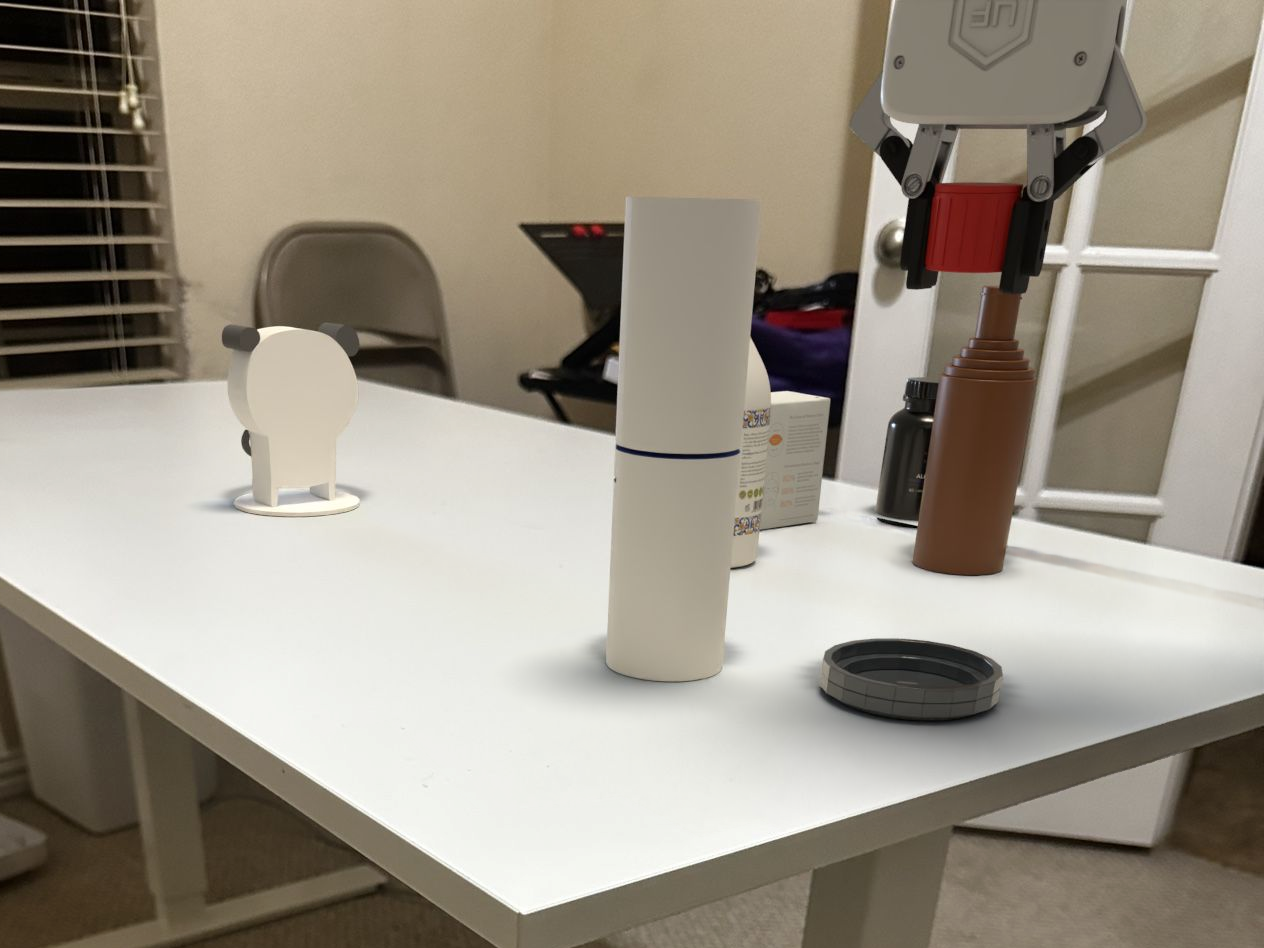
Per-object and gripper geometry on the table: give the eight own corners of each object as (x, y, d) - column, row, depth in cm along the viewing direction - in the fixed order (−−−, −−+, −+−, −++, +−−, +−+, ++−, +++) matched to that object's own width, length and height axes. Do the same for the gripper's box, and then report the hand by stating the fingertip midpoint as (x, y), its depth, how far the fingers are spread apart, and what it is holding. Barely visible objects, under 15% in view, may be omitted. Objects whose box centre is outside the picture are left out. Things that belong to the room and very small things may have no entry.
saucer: (1031, 701, 79) (1037, 668, 78) (925, 737, 73) (931, 701, 72) (890, 660, 86) (895, 629, 85) (784, 690, 80) (787, 656, 79)
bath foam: (757, 552, 112) (782, 279, 102) (756, 572, 106) (782, 284, 96) (672, 548, 113) (689, 277, 103) (666, 567, 107) (683, 281, 97)
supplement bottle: (923, 533, 120) (945, 386, 114) (859, 521, 124) (877, 378, 118) (966, 524, 124) (990, 381, 118) (902, 512, 128) (922, 373, 122)
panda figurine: (327, 488, 133) (318, 318, 126) (389, 507, 125) (383, 327, 118) (213, 500, 127) (196, 321, 119) (271, 521, 119) (257, 331, 112)
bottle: (1020, 567, 109) (1072, 288, 99) (968, 579, 105) (1017, 290, 95) (946, 551, 114) (989, 283, 104) (894, 562, 110) (933, 284, 100)
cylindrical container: (636, 686, 80) (663, 197, 68) (587, 652, 86) (603, 196, 74) (743, 674, 82) (787, 200, 70) (688, 643, 88) (721, 199, 76)
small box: (776, 512, 127) (788, 390, 122) (818, 522, 123) (833, 397, 118) (710, 520, 123) (719, 394, 118) (752, 531, 119) (764, 402, 114)
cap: (928, 264, 71) (938, 182, 69) (1011, 266, 69) (1025, 182, 68) (921, 272, 67) (932, 185, 65) (1008, 274, 66) (1022, 186, 64)
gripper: (828, -172, 61) (783, 285, 70) (1233, -212, 54) (1126, 303, 63) (881, -138, 67) (833, 281, 76) (1253, -169, 60) (1152, 297, 68)
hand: (966, 286), depth 69 cm, fingers closed on cap, 4 cm apart
